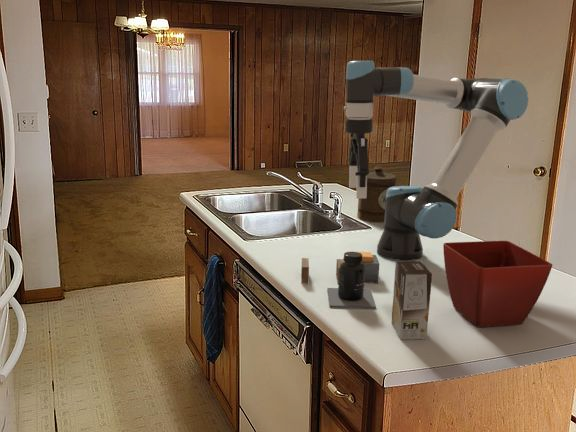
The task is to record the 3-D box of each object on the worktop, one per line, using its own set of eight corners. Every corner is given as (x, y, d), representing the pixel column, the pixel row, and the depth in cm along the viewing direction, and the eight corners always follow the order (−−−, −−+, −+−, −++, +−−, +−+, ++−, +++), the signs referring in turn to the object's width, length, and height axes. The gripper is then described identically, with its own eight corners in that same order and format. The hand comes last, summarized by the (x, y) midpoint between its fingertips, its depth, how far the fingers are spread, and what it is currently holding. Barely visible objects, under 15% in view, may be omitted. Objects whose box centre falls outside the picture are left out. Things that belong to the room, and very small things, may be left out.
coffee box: (427, 339, 128) (433, 274, 124) (400, 340, 127) (405, 274, 123) (415, 322, 137) (420, 260, 133) (389, 322, 136) (394, 260, 132)
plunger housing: (374, 273, 169) (375, 254, 167) (378, 283, 161) (379, 263, 160) (348, 272, 169) (349, 254, 168) (350, 282, 161) (351, 263, 160)
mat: (370, 291, 155) (370, 289, 155) (376, 308, 144) (376, 306, 144) (327, 289, 156) (327, 287, 155) (329, 307, 144) (329, 305, 144)
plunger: (369, 271, 167) (370, 252, 165) (371, 276, 163) (372, 256, 161) (354, 270, 167) (356, 251, 165) (356, 276, 163) (357, 256, 161)
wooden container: (387, 224, 224) (391, 170, 219) (352, 219, 230) (355, 166, 225) (397, 216, 237) (401, 165, 232) (363, 211, 243) (366, 161, 238)
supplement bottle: (362, 302, 146) (365, 259, 143) (336, 300, 147) (338, 257, 144) (364, 292, 152) (366, 251, 149) (339, 290, 154) (341, 249, 151)
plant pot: (544, 330, 135) (555, 264, 130) (472, 335, 131) (481, 268, 126) (499, 298, 153) (507, 239, 148) (435, 303, 149) (441, 242, 144)
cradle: (342, 275, 167) (343, 259, 166) (344, 284, 159) (345, 268, 158) (301, 273, 167) (301, 257, 166) (301, 283, 160) (301, 267, 158)
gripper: (339, 114, 167) (338, 183, 173) (352, 123, 143) (351, 203, 149) (364, 113, 167) (362, 183, 173) (381, 122, 143) (379, 202, 149)
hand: (357, 192), depth 161 cm, fingers open, 13 cm apart
